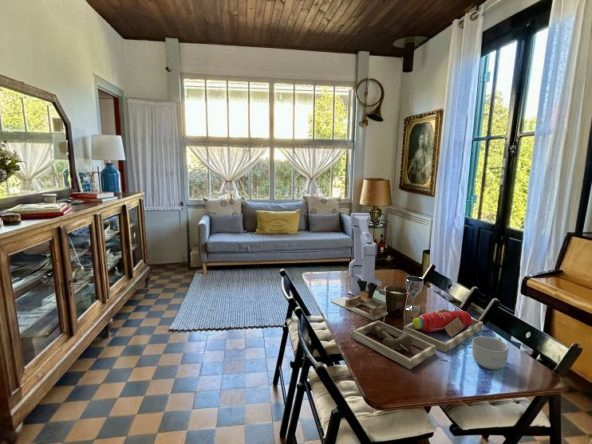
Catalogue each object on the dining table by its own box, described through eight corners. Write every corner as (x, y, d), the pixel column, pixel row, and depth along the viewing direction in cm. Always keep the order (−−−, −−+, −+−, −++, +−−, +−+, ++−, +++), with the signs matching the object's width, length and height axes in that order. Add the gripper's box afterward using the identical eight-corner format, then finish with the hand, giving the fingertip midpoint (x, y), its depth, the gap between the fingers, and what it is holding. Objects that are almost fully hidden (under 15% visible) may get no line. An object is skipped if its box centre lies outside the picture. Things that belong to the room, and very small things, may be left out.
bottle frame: (441, 314, 155) (442, 307, 154) (482, 328, 141) (483, 322, 140) (402, 333, 136) (403, 326, 135) (445, 352, 122) (445, 345, 121)
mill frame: (377, 326, 142) (378, 320, 141) (435, 353, 121) (435, 345, 121) (352, 337, 132) (352, 330, 131) (409, 369, 112) (410, 360, 111)
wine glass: (403, 310, 159) (405, 280, 156) (404, 304, 166) (406, 275, 164) (420, 313, 156) (423, 282, 153) (421, 306, 163) (423, 277, 161)
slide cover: (372, 290, 172) (372, 285, 171) (397, 300, 160) (398, 294, 159) (361, 294, 166) (361, 289, 166) (387, 304, 154) (387, 298, 154)
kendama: (384, 332, 138) (419, 356, 120) (365, 337, 134) (397, 362, 116) (384, 319, 137) (419, 340, 119) (365, 323, 133) (398, 346, 115)
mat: (344, 297, 174) (344, 296, 174) (356, 302, 167) (356, 301, 167) (330, 301, 168) (330, 300, 167) (342, 307, 161) (342, 306, 161)
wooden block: (366, 297, 160) (366, 289, 159) (372, 300, 157) (373, 292, 156) (360, 299, 157) (360, 291, 157) (367, 302, 154) (367, 294, 154)
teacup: (493, 377, 108) (496, 354, 107) (463, 360, 117) (465, 339, 116) (518, 365, 114) (520, 344, 113) (487, 350, 124) (490, 330, 122)
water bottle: (482, 321, 133) (426, 326, 128) (477, 338, 135) (422, 343, 131) (462, 304, 144) (410, 308, 139) (458, 320, 147) (407, 324, 142)
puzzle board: (370, 297, 173) (370, 290, 173) (399, 309, 159) (400, 301, 159) (343, 307, 161) (344, 299, 161) (373, 320, 147) (373, 311, 147)
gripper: (350, 266, 158) (349, 293, 160) (375, 274, 147) (373, 303, 149) (360, 264, 162) (359, 290, 164) (385, 271, 151) (383, 299, 153)
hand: (366, 296), depth 157 cm, fingers closed on wooden block, 4 cm apart
